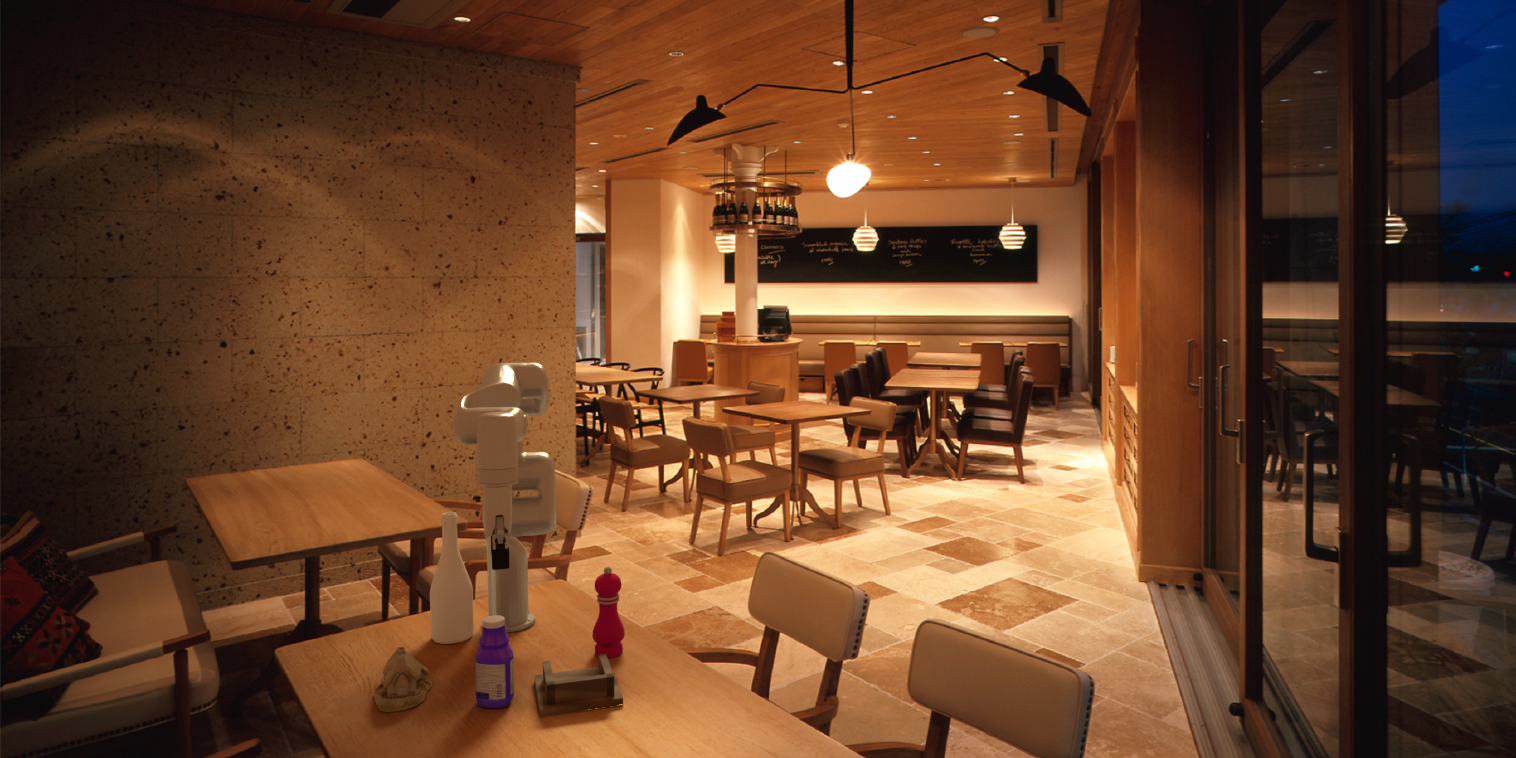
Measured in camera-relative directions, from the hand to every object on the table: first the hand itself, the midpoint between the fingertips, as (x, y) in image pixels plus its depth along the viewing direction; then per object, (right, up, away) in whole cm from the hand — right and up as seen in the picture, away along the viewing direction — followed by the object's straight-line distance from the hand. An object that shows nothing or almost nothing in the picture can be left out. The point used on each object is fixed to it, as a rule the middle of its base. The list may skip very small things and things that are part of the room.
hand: (500, 561), depth 168 cm
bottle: (-1, -29, +2) cm, 29 cm away
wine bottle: (-22, -26, +35) cm, 49 cm away
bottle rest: (+14, -28, +6) cm, 32 cm away
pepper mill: (+17, -27, +27) cm, 41 cm away
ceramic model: (-21, -29, +5) cm, 36 cm away
